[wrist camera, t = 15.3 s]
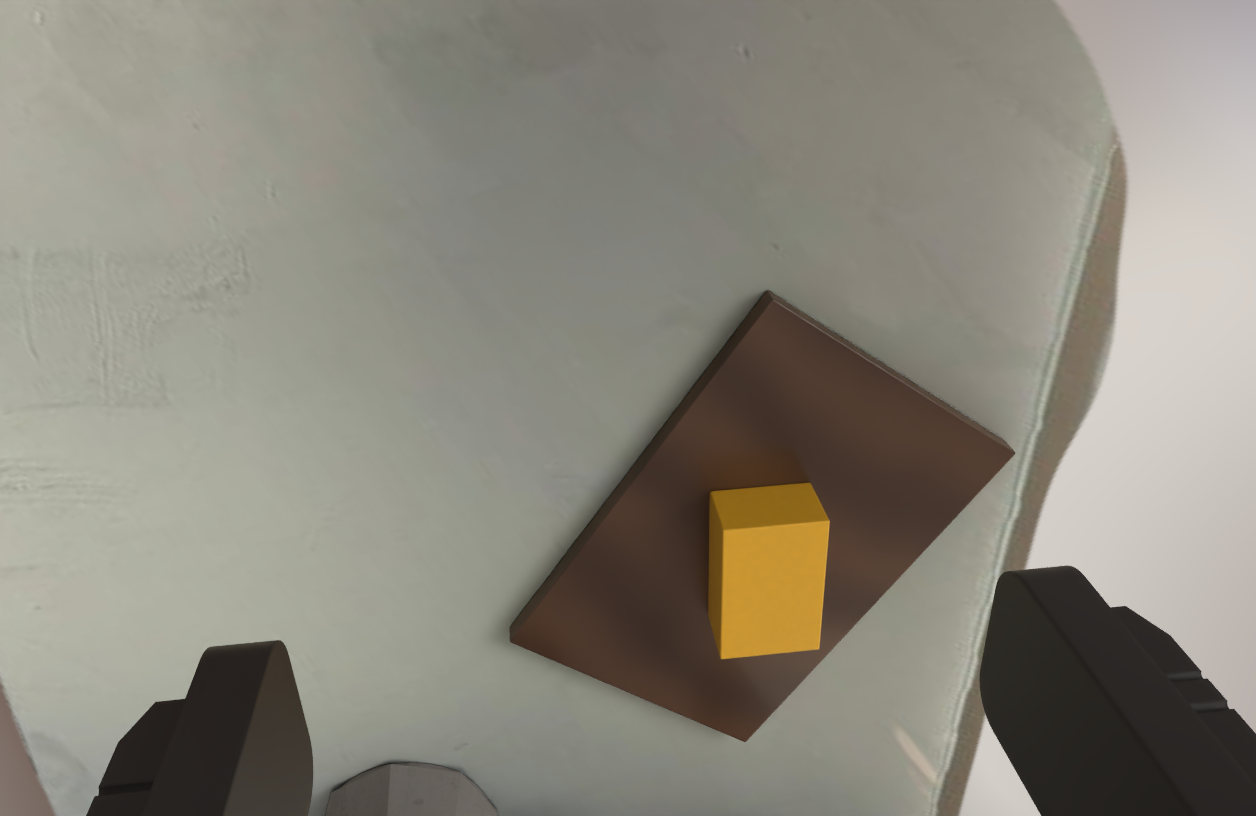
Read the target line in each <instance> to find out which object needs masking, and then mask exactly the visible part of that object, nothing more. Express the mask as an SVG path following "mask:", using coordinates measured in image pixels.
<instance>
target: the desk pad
mask: <svg viewBox="0 0 1256 816" xmlns="http://www.w3.org/2000/svg"><path fill="white" fill-rule="evenodd" d="M1014 455H1015V452H1014V450H1013V449H1012V448H1011V447H1010V446H1009V445H1008V444H1007V442H1005V441H1004V440H1002V439H1001V438H999V437H997V436H996V435H994V434H993V433H991V432H990V431H988V430H986V429H985V428H983V427H982V426H980V425H979V424H977V423H975V422H974V421H972V420H971V419H969V418H968V417H966V416H964V415H963V414H961V413H960V412H958V411H957V410H955V409H954V408H952V407H950V406H949V405H947V404H946V403H944V402H943V401H941V400H939V399H938V398H936V397H935V396H933V395H932V394H930V393H928V392H927V391H925V390H924V389H922V388H921V387H919V386H917V385H916V384H914V383H913V382H911V381H910V380H908V379H906V378H905V377H903V376H902V375H900V374H899V373H897V372H895V371H894V370H892V369H891V368H889V367H888V366H886V365H884V364H883V363H881V362H880V361H878V360H877V359H875V358H873V357H872V356H870V355H869V354H867V353H866V352H864V351H862V350H861V349H859V348H858V347H856V346H855V345H853V344H852V343H850V342H848V341H847V340H845V339H844V338H842V337H841V336H839V335H837V334H836V333H834V332H833V331H831V330H830V329H828V328H826V327H825V326H823V325H822V324H820V323H819V322H817V321H815V320H814V319H812V318H811V317H809V316H808V315H806V314H804V313H803V312H801V311H800V310H798V309H797V308H795V307H793V306H792V305H790V304H789V303H787V302H786V301H784V300H782V299H781V298H779V297H778V296H776V295H775V294H773V293H771V292H770V291H766V293H765V294H764V295H763V296H762V298H761V299H760V300H759V302H758V303H757V304H756V306H755V307H754V308H753V310H752V311H751V312H750V313H749V315H748V316H747V317H746V319H745V320H744V321H743V323H742V324H741V325H740V327H739V328H738V329H737V331H736V332H735V333H734V334H733V336H732V337H731V338H730V340H729V341H728V342H727V344H726V345H725V346H724V348H723V349H722V350H721V352H720V353H719V354H718V355H717V357H716V358H715V359H714V361H713V362H712V363H711V365H710V366H709V367H708V369H707V370H706V371H705V372H704V374H703V375H702V376H701V378H700V379H699V380H698V382H697V383H696V384H695V386H694V387H693V388H692V390H691V391H690V392H689V393H688V395H687V396H686V397H685V399H684V400H683V401H682V403H681V404H680V405H679V407H678V408H677V409H676V410H675V412H674V413H673V414H672V416H671V417H670V418H669V420H668V421H667V422H666V424H665V425H664V426H663V428H662V429H661V430H660V431H659V433H658V434H657V435H656V437H655V438H654V439H653V441H652V442H651V443H650V445H649V446H648V447H647V449H646V450H645V451H644V452H643V454H642V455H641V456H640V458H639V459H638V460H637V462H636V463H635V464H634V466H633V467H632V468H631V469H630V471H629V472H628V473H627V475H626V476H625V477H624V479H623V480H622V481H621V483H620V484H619V485H618V487H617V488H616V489H615V490H614V492H613V493H612V494H611V496H610V497H609V498H608V500H607V501H606V502H605V504H604V505H603V506H602V508H601V509H600V510H599V511H598V513H597V514H596V515H595V517H594V518H593V519H592V521H591V522H590V523H589V525H588V526H587V527H586V528H585V530H584V531H583V532H582V534H581V535H580V536H579V538H578V539H577V540H576V542H575V543H574V544H573V546H572V547H571V548H570V549H569V551H568V552H567V553H566V555H565V556H564V557H563V559H562V560H561V561H560V563H559V564H558V565H557V567H556V568H555V569H554V570H553V572H552V573H551V574H550V576H549V577H548V578H547V580H546V581H545V582H544V584H543V585H542V586H541V587H540V589H539V590H538V591H537V593H536V594H535V595H534V597H533V598H532V599H531V601H530V602H529V603H528V605H527V606H526V607H525V608H524V610H523V611H522V612H521V614H520V615H519V616H518V618H517V619H516V620H515V622H514V623H513V624H512V625H511V627H510V642H511V643H514V644H516V645H518V646H521V647H523V648H525V649H528V650H530V651H533V652H535V653H537V654H540V655H542V656H544V657H547V658H549V659H551V660H554V661H556V662H558V663H561V664H563V665H565V666H568V667H570V668H572V669H575V670H577V671H579V672H582V673H584V674H586V675H589V676H591V677H594V678H596V679H598V680H601V681H603V682H605V683H608V684H610V685H612V686H615V687H617V688H619V689H622V690H624V691H626V692H629V693H631V694H633V695H636V696H638V697H640V698H643V699H645V700H647V701H650V702H652V703H655V704H657V705H659V706H662V707H664V708H666V709H669V710H671V711H673V712H676V713H678V714H680V715H683V716H685V717H687V718H690V719H692V720H694V721H697V722H699V723H701V724H704V725H706V726H708V727H711V728H713V729H716V730H718V731H720V732H723V733H725V734H727V735H730V736H732V737H734V738H737V739H739V740H741V741H744V742H746V741H747V740H748V739H749V738H750V737H751V736H752V735H753V734H754V733H755V731H756V730H757V729H758V728H759V727H760V726H761V725H762V724H763V723H764V722H765V721H766V720H767V719H768V718H769V717H770V715H771V714H772V713H773V712H774V711H775V710H776V709H777V708H778V707H779V706H780V705H781V704H782V703H783V702H784V700H785V699H786V698H787V697H788V696H789V695H790V694H791V693H792V692H793V691H794V690H795V689H796V688H797V687H798V685H799V684H800V683H801V682H802V681H803V680H804V679H805V678H806V677H807V676H808V675H809V674H810V673H811V672H812V671H813V669H814V668H815V667H816V666H817V665H818V664H819V663H820V662H821V661H822V660H823V659H824V658H825V657H826V656H827V654H828V653H829V652H830V651H831V650H832V649H833V648H834V647H835V646H836V645H837V644H838V643H839V642H840V641H841V640H842V638H843V637H844V636H845V635H846V634H847V633H848V632H849V631H850V630H851V629H852V628H853V627H854V626H855V625H856V623H857V622H858V621H859V620H860V619H861V618H862V617H863V616H864V615H865V614H866V613H867V612H868V611H869V610H870V609H871V607H872V606H873V605H874V604H875V603H876V602H877V601H878V600H879V599H880V598H881V597H882V596H883V595H884V594H885V592H886V591H887V590H888V589H889V588H890V587H891V586H892V585H893V584H894V583H895V582H896V581H897V580H898V579H899V578H900V576H901V575H902V574H903V573H904V572H905V571H906V570H907V569H908V568H909V567H910V566H911V565H912V564H913V563H914V561H915V560H916V559H917V558H918V557H919V556H920V555H921V554H922V553H923V552H924V551H925V550H926V549H927V548H928V546H929V545H930V544H931V543H932V542H933V541H934V540H935V539H936V538H937V537H938V536H939V535H940V534H941V533H942V532H943V530H944V529H945V528H946V527H947V526H948V525H949V524H950V523H951V522H952V521H953V520H954V519H955V518H956V517H957V515H958V514H959V513H960V512H961V511H962V510H963V509H964V508H965V507H966V506H967V505H968V504H969V503H970V502H971V501H972V499H973V498H974V497H975V496H976V495H977V494H978V493H979V492H980V491H981V490H982V489H983V488H984V487H985V486H986V484H987V483H988V482H989V481H990V480H991V479H992V478H993V477H994V476H995V475H996V474H997V473H998V472H999V471H1000V470H1001V468H1002V467H1003V466H1004V465H1005V464H1006V463H1007V462H1008V461H1009V460H1010V459H1011V458H1012V457H1013V456H1014ZM798 483H811V485H812V487H813V489H814V491H815V493H816V495H817V497H818V499H819V501H820V503H821V505H822V507H823V509H824V511H825V513H826V515H827V517H828V519H829V521H830V525H829V537H828V549H827V561H826V573H825V586H824V598H823V610H822V622H821V634H820V646H819V649H818V650H808V651H798V652H788V653H779V654H769V655H759V656H749V657H740V658H730V659H720V656H719V652H718V649H717V645H716V642H715V638H714V634H713V631H712V627H711V624H710V620H709V616H708V592H709V504H710V492H711V491H719V490H730V489H742V488H753V487H764V486H776V485H787V484H798Z"/></svg>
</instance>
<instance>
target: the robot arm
mask: <svg viewBox="0 0 1256 816" xmlns="http://www.w3.org/2000/svg"><path fill="white" fill-rule="evenodd" d="M980 691H981V698H982V703H983V707H984V710H985V713H986V716H987V719H988V721H989V724H990V726H991V727H992V729H993V732H994V733H995V735H996V737H997V739H998V740H999V742H1000V744H1001V745H1002V747H1003V749H1004V751H1005V753H1006V754H1007V756H1008V758H1009V760H1010V761H1011V763H1012V765H1013V767H1014V768H1015V770H1016V772H1017V774H1018V775H1019V777H1020V779H1021V781H1022V782H1023V784H1024V786H1025V788H1026V790H1027V791H1028V793H1029V795H1030V796H1031V798H1032V800H1033V802H1034V804H1035V805H1036V807H1037V809H1038V811H1039V812H1040V814H1041V816H1256V734H1255V732H1254V731H1253V730H1252V729H1251V728H1250V727H1249V726H1248V724H1247V723H1246V722H1245V721H1244V720H1243V719H1242V718H1241V716H1240V715H1239V714H1238V713H1237V712H1236V711H1235V710H1234V709H1229V708H1228V706H1227V700H1226V699H1225V698H1224V697H1223V696H1222V695H1221V693H1220V692H1219V691H1218V690H1217V689H1216V688H1215V687H1214V685H1213V684H1212V683H1211V682H1210V681H1209V680H1208V679H1203V678H1202V676H1201V670H1200V669H1199V668H1198V667H1197V666H1196V665H1195V664H1194V663H1193V661H1192V660H1191V659H1190V658H1189V657H1188V655H1187V654H1186V653H1185V652H1184V651H1183V650H1182V649H1181V648H1180V646H1179V645H1178V644H1177V643H1176V642H1175V641H1174V639H1173V638H1172V637H1171V636H1170V635H1169V634H1167V633H1166V632H1164V631H1163V630H1161V629H1159V628H1158V627H1157V626H1155V625H1153V624H1152V623H1150V622H1149V621H1147V620H1146V619H1144V618H1143V617H1141V616H1140V615H1138V614H1137V613H1135V612H1134V611H1132V610H1131V609H1129V608H1128V607H1126V606H1122V607H1112V608H1110V607H1109V606H1108V605H1107V603H1106V602H1105V601H1104V599H1103V598H1102V597H1101V596H1100V594H1099V593H1098V592H1097V591H1096V590H1095V588H1094V587H1093V586H1092V585H1091V584H1090V582H1089V581H1088V580H1087V579H1086V577H1085V576H1084V575H1083V574H1082V573H1081V572H1080V571H1079V570H1077V569H1076V568H1074V567H1072V566H1059V567H1050V568H1038V569H1028V570H1018V571H1008V572H1004V573H1003V574H1002V575H1001V576H1000V578H999V579H998V582H997V585H996V589H995V594H994V600H993V605H992V610H991V616H990V621H989V626H988V632H987V637H986V642H985V648H984V653H983V658H982V664H981V669H980ZM312 786H313V756H312V747H311V741H310V736H309V733H308V729H307V725H306V721H305V717H304V713H303V709H302V705H301V701H300V698H299V694H298V690H297V686H296V682H295V678H294V674H293V670H292V666H291V663H290V659H289V655H288V652H287V649H286V647H285V645H284V643H283V642H282V641H280V640H276V641H266V642H255V643H245V644H235V645H225V646H214V647H209V648H207V649H206V650H205V652H204V653H203V655H202V657H201V659H200V662H199V664H198V667H197V670H196V672H195V675H194V677H193V680H192V683H191V685H190V688H189V691H188V693H187V696H186V699H181V700H171V701H161V702H155V703H154V704H153V705H152V707H151V708H150V709H149V710H148V711H147V712H146V713H145V714H144V715H143V716H142V717H141V718H140V720H139V721H138V722H137V723H136V724H135V725H134V726H133V727H132V728H131V729H130V730H129V731H128V733H127V734H126V735H125V736H124V737H123V738H122V739H121V740H120V741H119V742H118V744H117V747H116V749H115V751H114V753H113V756H112V758H111V760H110V763H109V765H108V767H107V769H106V772H105V774H104V776H103V779H102V781H101V783H100V785H99V795H98V796H95V797H94V799H93V802H92V804H91V806H90V808H89V811H88V813H87V815H86V816H308V812H309V807H310V802H311V796H312Z"/></svg>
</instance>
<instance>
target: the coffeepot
mask: <svg viewBox="0 0 1256 816" xmlns="http://www.w3.org/2000/svg"><path fill="white" fill-rule="evenodd" d="M497 813H498V812H497V811H496V809H495V808H494V807H493V805H492V804H491V803H490V801H489V800H488V799H487V797H486V796H485V794H484V793H483V792H482V790H481V789H480V788H479V787H478V786H477V785H476V784H475V783H474V782H472V781H471V780H470V779H469V778H467V777H465V776H464V775H463V774H462V773H461V772H458V771H455V770H451V769H448V768H445V767H442V766H437V765H432V764H427V763H411V762H409V763H397V764H388V765H384V766H380V767H376V768H374V769H371V770H369V771H366V772H363V773H361V774H359V775H358V776H356V777H354V778H353V779H351V780H349V781H348V782H347V783H346V784H344V785H343V786H342V787H341V788H339V789H337V790H335V791H333V792H331V794H330V798H329V802H328V806H327V810H326V814H325V816H497Z"/></svg>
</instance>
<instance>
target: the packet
mask: <svg viewBox="0 0 1256 816" xmlns="http://www.w3.org/2000/svg"><path fill="white" fill-rule="evenodd" d="M829 525H830V521H829V519H828V517H827V515H826V513H825V511H824V509H823V507H822V505H821V503H820V501H819V499H818V497H817V495H816V493H815V491H814V489H813V487H812V485H811V483H798V484H787V485H776V486H764V487H753V488H742V489H730V490H719V491H711V492H710V504H709V592H708V616H709V620H710V624H711V627H712V631H713V634H714V638H715V642H716V645H717V649H718V652H719V656H720V659H730V658H740V657H749V656H759V655H769V654H779V653H788V652H798V651H808V650H818V649H819V646H820V634H821V622H822V610H823V598H824V586H825V573H826V561H827V549H828V537H829Z"/></svg>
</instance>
